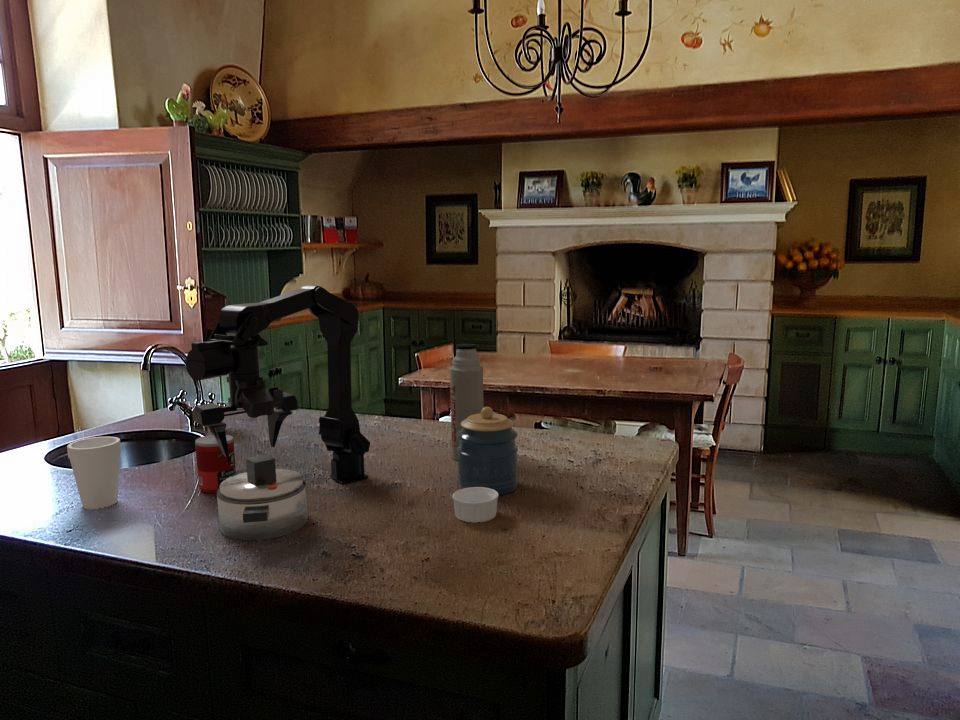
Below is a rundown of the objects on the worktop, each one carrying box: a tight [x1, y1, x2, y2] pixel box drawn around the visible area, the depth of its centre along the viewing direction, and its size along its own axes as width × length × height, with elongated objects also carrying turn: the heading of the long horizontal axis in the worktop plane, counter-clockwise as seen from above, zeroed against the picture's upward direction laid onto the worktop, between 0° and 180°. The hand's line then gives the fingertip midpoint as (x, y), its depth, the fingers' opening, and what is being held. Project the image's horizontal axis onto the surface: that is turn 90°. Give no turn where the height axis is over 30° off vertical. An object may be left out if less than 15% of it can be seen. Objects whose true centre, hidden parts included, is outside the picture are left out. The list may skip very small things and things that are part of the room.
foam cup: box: [66, 435, 122, 510], centre depth 145 cm, size 10×9×13 cm
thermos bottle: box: [449, 343, 485, 462], centre depth 172 cm, size 8×8×28 cm
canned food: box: [194, 434, 237, 494], centre depth 154 cm, size 8×8×11 cm
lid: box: [220, 453, 304, 502], centre depth 133 cm, size 15×15×6 cm
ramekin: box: [452, 487, 500, 524], centre depth 137 cm, size 9×9×4 cm
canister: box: [457, 406, 519, 496], centre depth 151 cm, size 13×13×18 cm
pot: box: [216, 479, 309, 541], centre depth 134 cm, size 23×16×7 cm
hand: (250, 451), depth 136 cm, fingers open, 9 cm apart
